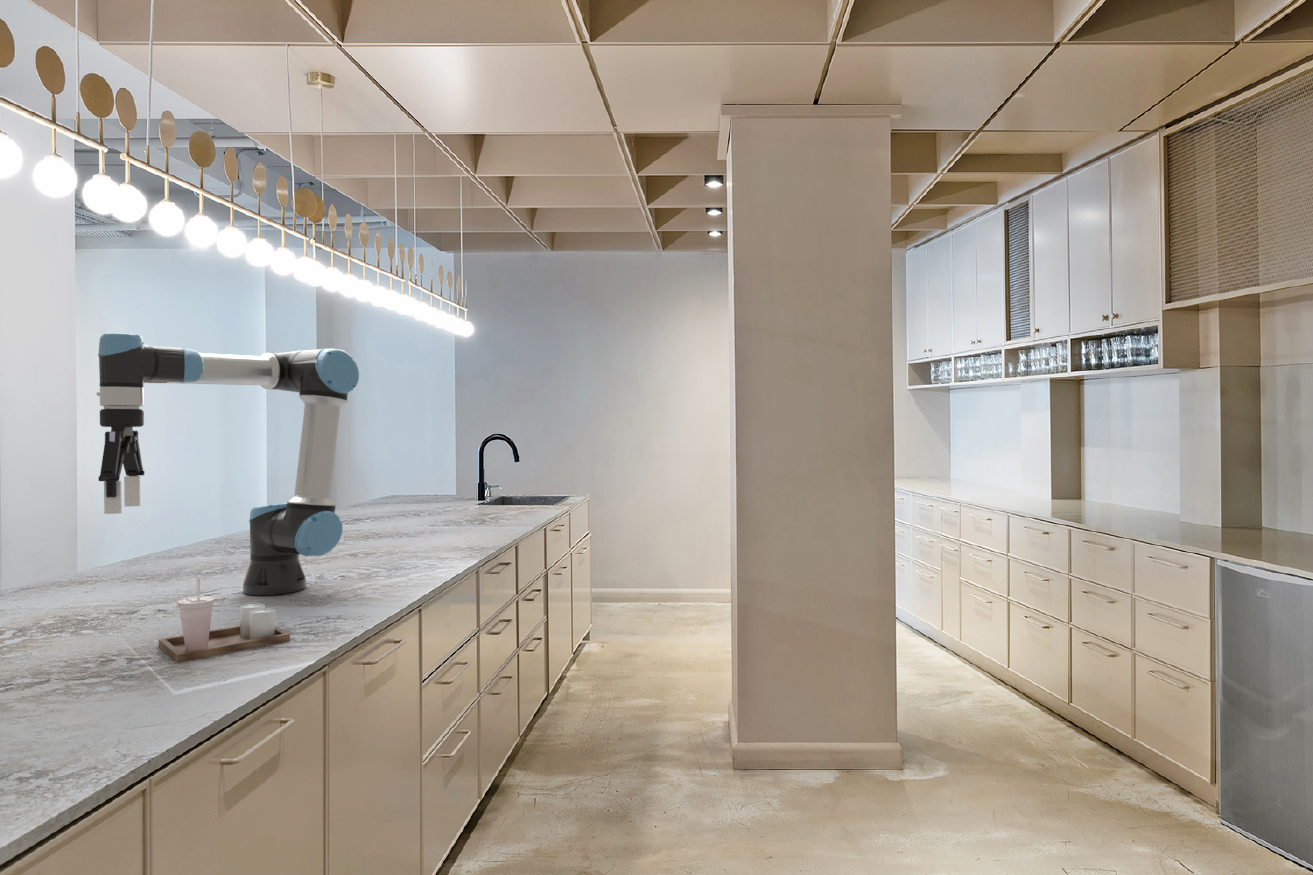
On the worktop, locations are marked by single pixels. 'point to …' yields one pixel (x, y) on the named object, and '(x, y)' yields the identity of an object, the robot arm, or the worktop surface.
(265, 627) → the white domed cylinder
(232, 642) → the tray
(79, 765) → the worktop surface
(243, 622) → the white rounded cylinder
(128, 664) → the worktop surface
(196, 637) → the smoothie
